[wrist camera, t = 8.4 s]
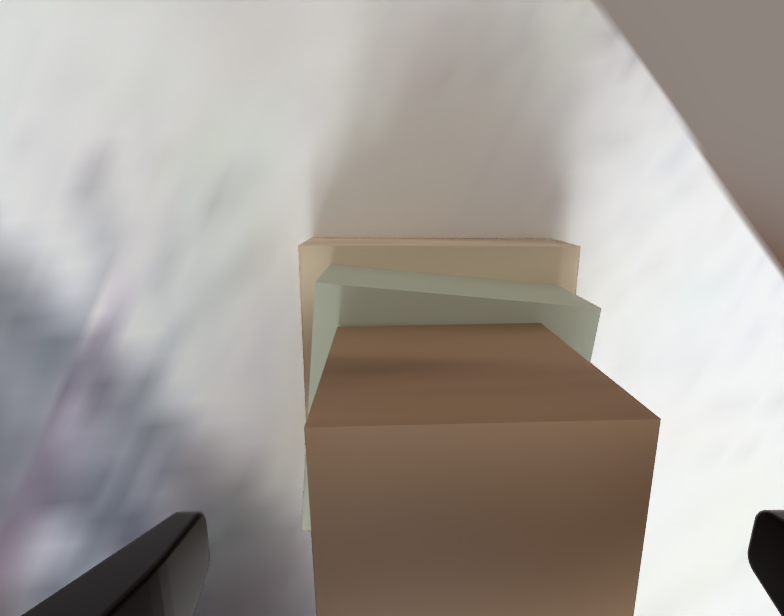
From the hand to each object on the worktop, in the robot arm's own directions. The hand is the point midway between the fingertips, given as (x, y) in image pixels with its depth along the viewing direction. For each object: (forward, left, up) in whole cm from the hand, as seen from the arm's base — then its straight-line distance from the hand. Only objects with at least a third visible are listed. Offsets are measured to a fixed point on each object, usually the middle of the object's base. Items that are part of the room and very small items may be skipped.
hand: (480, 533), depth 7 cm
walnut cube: (0, 0, -4) cm, 5 cm away
